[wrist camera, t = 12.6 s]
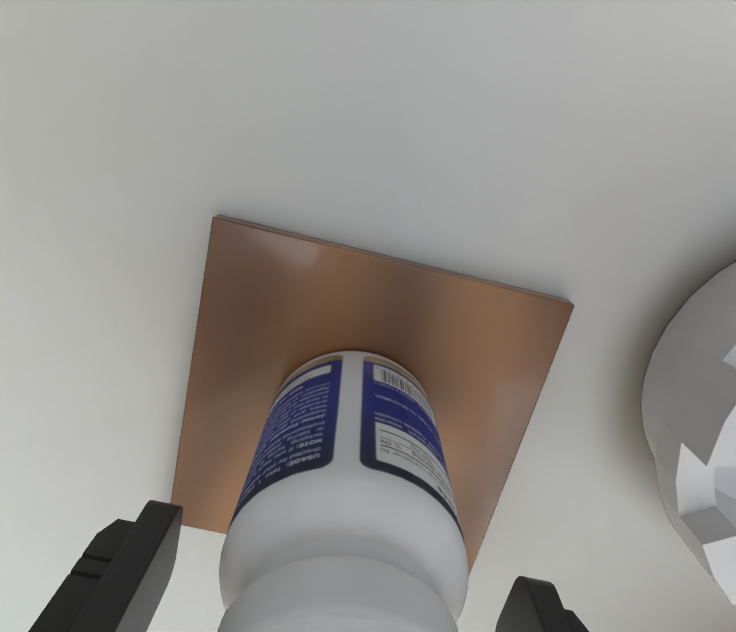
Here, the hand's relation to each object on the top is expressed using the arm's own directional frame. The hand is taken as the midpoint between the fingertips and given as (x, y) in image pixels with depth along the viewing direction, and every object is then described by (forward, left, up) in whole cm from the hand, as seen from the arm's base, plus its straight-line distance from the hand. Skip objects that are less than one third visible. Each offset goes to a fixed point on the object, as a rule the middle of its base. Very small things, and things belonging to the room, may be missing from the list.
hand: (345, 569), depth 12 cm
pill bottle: (0, 0, -7) cm, 7 cm away
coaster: (0, 0, -7) cm, 7 cm away
